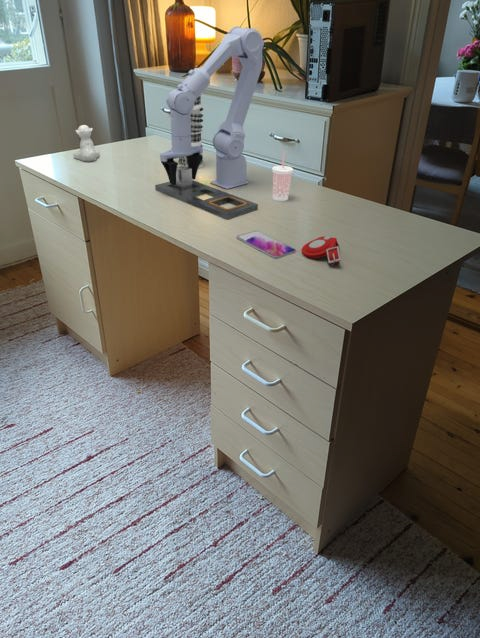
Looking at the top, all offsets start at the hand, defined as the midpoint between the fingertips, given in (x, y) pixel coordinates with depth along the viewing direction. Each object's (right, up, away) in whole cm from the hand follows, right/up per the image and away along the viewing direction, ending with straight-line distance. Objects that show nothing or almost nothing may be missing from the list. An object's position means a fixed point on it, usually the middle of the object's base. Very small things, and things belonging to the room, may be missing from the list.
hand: (182, 181), depth 157 cm
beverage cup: (+30, -6, -2) cm, 30 cm away
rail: (+7, -7, -4) cm, 10 cm away
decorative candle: (0, +12, +24) cm, 27 cm away
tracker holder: (+37, -28, -35) cm, 58 cm away
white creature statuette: (-37, +15, +28) cm, 48 cm away
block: (0, -3, +2) cm, 3 cm away
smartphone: (+24, -24, -30) cm, 45 cm away
